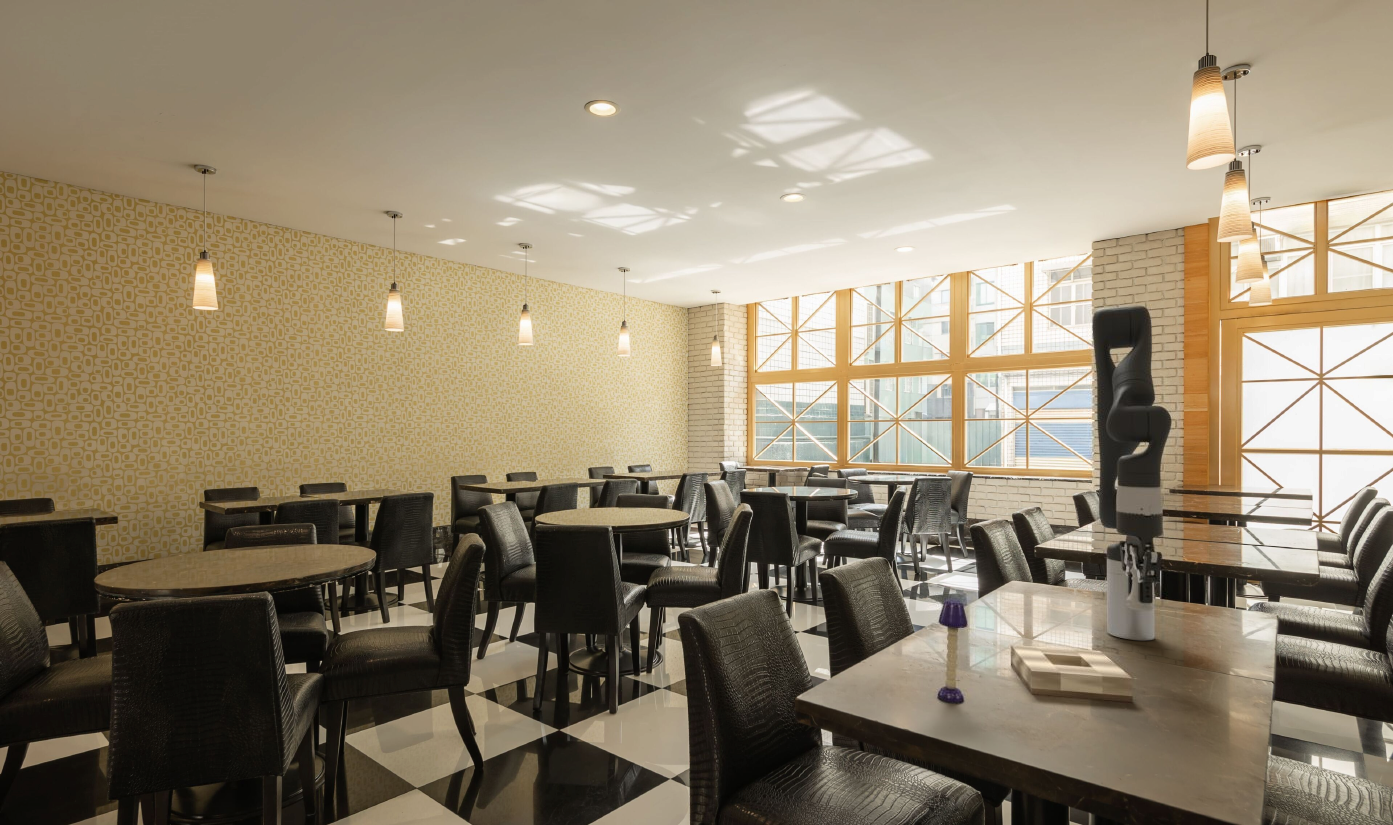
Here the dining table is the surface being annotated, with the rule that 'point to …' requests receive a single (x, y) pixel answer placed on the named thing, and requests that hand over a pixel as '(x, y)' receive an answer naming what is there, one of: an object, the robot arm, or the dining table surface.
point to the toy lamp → (952, 647)
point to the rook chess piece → (1134, 595)
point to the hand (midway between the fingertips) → (1140, 599)
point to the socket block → (1071, 673)
